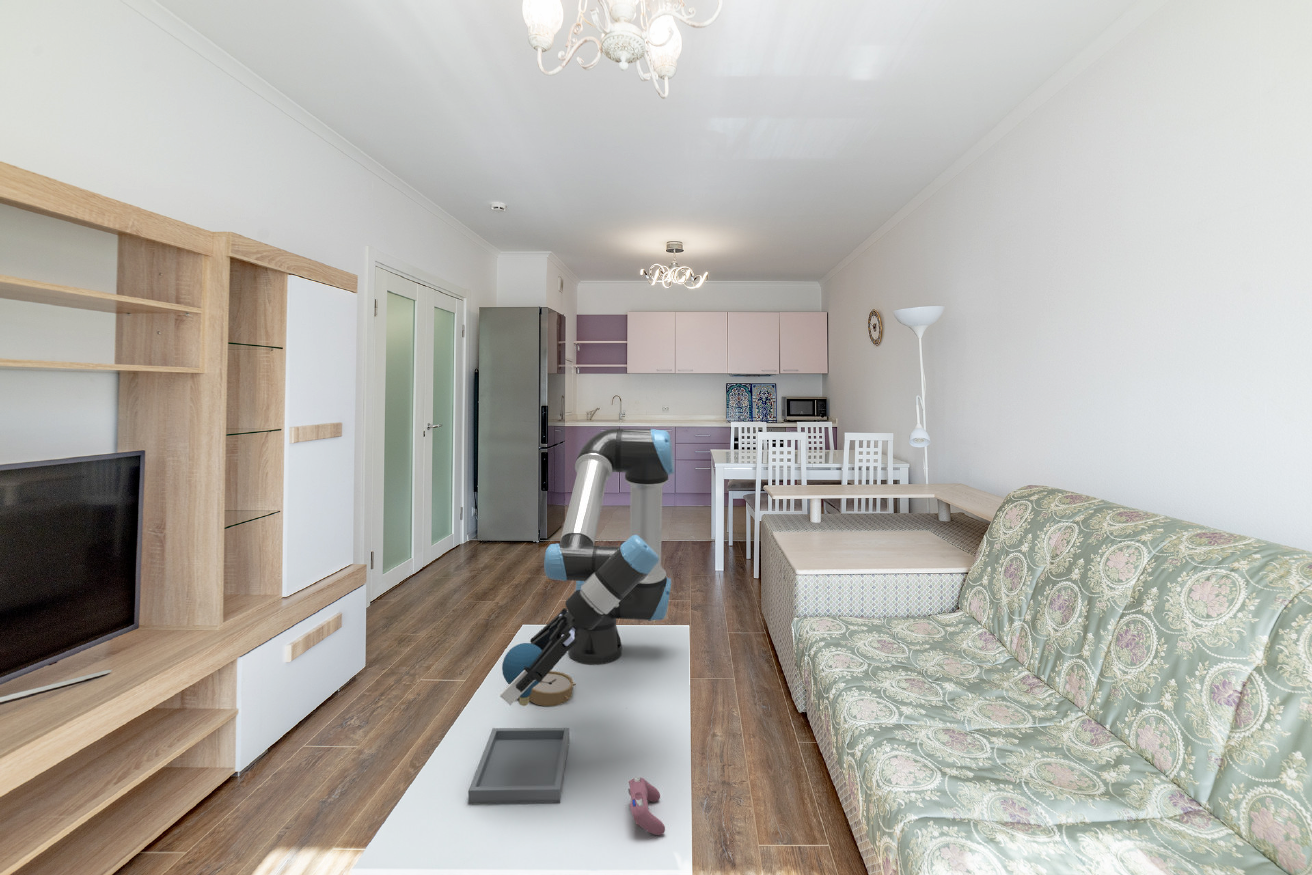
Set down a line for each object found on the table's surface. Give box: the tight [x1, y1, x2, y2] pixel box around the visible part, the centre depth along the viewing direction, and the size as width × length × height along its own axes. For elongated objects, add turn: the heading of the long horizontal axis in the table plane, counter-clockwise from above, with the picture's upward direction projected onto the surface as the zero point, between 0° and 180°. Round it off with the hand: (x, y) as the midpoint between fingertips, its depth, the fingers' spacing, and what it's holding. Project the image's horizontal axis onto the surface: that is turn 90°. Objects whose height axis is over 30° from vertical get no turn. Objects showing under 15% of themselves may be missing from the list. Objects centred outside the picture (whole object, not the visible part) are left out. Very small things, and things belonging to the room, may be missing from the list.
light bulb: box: [501, 642, 542, 707], centre depth 115 cm, size 8×8×12 cm
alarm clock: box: [518, 670, 577, 707], centre depth 145 cm, size 11×5×15 cm
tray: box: [467, 727, 571, 805], centre depth 116 cm, size 20×16×2 cm
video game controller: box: [627, 776, 666, 836], centre depth 103 cm, size 10×5×7 cm, turn 5°
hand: (506, 688), depth 114 cm, fingers closed on light bulb, 8 cm apart
